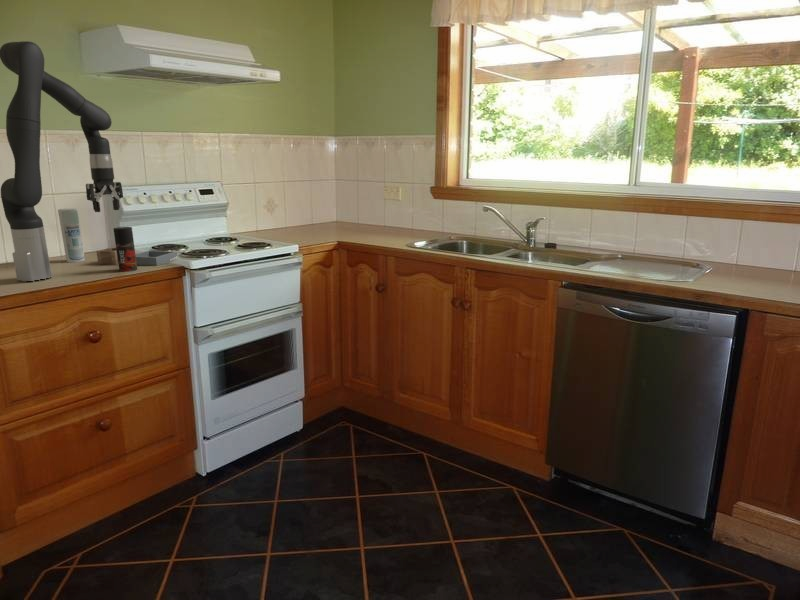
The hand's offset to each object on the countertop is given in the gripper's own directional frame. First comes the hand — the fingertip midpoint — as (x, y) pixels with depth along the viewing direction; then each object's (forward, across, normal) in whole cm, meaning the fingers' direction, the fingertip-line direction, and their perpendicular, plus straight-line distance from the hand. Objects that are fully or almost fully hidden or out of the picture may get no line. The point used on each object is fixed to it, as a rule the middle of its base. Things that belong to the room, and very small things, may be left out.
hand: (107, 211), depth 221 cm
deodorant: (+20, -10, -18) cm, 29 cm away
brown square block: (+19, -1, -2) cm, 19 cm away
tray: (+19, +4, -16) cm, 25 cm away
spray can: (+20, -4, +16) cm, 25 cm away
